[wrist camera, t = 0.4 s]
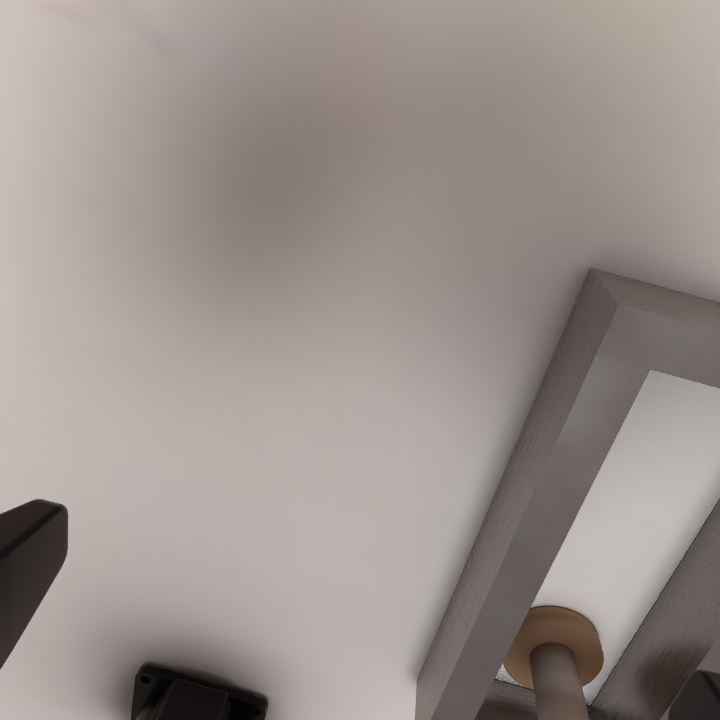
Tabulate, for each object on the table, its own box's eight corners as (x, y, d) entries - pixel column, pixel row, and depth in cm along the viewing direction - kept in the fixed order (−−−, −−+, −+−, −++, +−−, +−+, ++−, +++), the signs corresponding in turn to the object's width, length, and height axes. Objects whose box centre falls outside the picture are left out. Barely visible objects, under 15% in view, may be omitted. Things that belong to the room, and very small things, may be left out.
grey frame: (609, 737, 27) (630, 822, 24) (416, 681, 27) (413, 759, 24) (872, 344, 19) (959, 395, 16) (590, 268, 19) (618, 304, 16)
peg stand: (577, 685, 26) (610, 841, 21) (488, 660, 26) (498, 809, 21) (615, 622, 24) (662, 774, 19) (519, 595, 25) (539, 738, 19)
